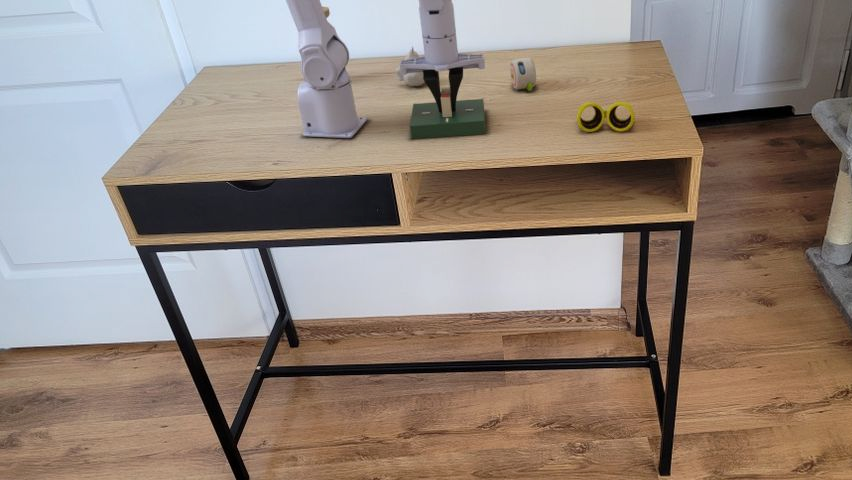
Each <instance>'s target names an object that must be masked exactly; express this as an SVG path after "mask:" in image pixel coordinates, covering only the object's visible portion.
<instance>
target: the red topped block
mask: <svg viewBox="0 0 852 480" xmlns="http://www.w3.org/2000/svg"><path fill="white" fill-rule="evenodd" d="M440 91H441V105H442V114H443V117H452V109H451V91H450V86H446V87H445V86H444V87H440Z"/></svg>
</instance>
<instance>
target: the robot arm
mask: <svg viewBox="0 0 852 480" xmlns="http://www.w3.org/2000/svg"><path fill="white" fill-rule="evenodd" d="M285 2H286V5H287V7H288V9H289V13H290V14H291V17H292V20H293V22H294V25H295V28H296V30H297V32H298V42H297V43H298V44H297V45H298V47H297V49H298V52H299V55H300V58H301V59H300V60H301V63H300V64H301V65H300V71H301V74H302V77H303V79H304V81H302V82H301V83H300V84H299V86H298V88H297V97H296V98H297V105H298V110H299V114H300V118H301V119H300V120H301V123H302V127H303V131H304V132H303V133H302V136H303V137H316V138H338V139H343V138H344V139H351V138H353V137H354V136H355V134H357V132H358V131H359V130H360V129H361V128H362V127H363V126H364V124H365V123H366V122H367V118H366V117H358V114H357V108H356V102H355V97H354V91H353V86H352V80H351V76H350V74H349V72H348V70H347V69H346V67H347V65H348V64H349V61H350V51H349V48H348V46H347V45H346V44H345V42H344V41H343V40H342V39H341V38H340V37H339V35H338V33H337V30H336V28H335V26H333V25H332V24H331V23H330V22H329V21H328V18H326V16H325V13H324V11H323V8H322V7H323V5H322V2H321V0H285ZM418 4H419V6H418V12H419V20H420V29H421V30H420V31H421V38H422V44H423V54H424V56H419V57H420V58H415V59H409V60H404V59H402V60H400V61H399V67H400V72H401V75H407V73H418V72H423V79H424V84H425V85H426V87H427V88H428V89H429V91H430V93H431V94H432V96H433V98H434V101H435V102H436V103H437V106H438V110H439V113H441V112H442V105H441V82H440V72H446V71H448V82H449V87H450V91H451V109H452V112H454V111H456V101H457V99H458V98H457V97H458V94H459V90H460V87H461V84H462V81H463V78H464V70H469V69H470V70H471V69H478V70H485V69H486V65H485V54H483V53H482V54H481V53H480V54H472V53H471V54H470V53H459V50H458V40H457V30H456V29H457V28H456V19H455V8H454V7H455V6H454V3H453V0H418Z"/></svg>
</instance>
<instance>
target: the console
mask: <svg viewBox="0 0 852 480" xmlns="http://www.w3.org/2000/svg"><path fill="white" fill-rule="evenodd" d="M409 123H410V124H409V129H410V136H411V140H417V139H418V140H419V139H432V138H433V139H435V138H446V137H459V136H473V135H485V134H486V115H485V101H484V98H477V99H463V100H456V111H454V112H452V117H443V114H442V112H441V113H439V110H438V106H437V103H436V101H435V102H422V103H421V102H420V103H413V104H412V111H411V117H410V122H409Z"/></svg>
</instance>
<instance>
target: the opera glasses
mask: <svg viewBox="0 0 852 480" xmlns="http://www.w3.org/2000/svg"><path fill="white" fill-rule="evenodd" d="M619 106H620V107H623V108H626V109H627V110H628V112H629V113H630V114H629V116H628V117H627V118H626V119H620V118H619V117H618V116H617V113H616V111H617V109H618V108H619ZM589 107H591V108H593V110H594V115H593V117H592V118H591V119H588V120H585V119H583V118H582V114H583V112H584V111H585V110H586V109H587V108H589ZM635 117H636V115H635V112H634V109H633V106H632V105H631V104H630V103H628V102H626V101H617V102H614V103H612V104H611V105H610V106H609V107H608V109H607V110H606V109H603V106H601V105H600V104H599V103H597V102H586V103H583V104H581V105H580V106H579V107H578V109H577V116H576V122H577V125H578V127H579V128H580V129H581V130H582V131H584V132H587V133H593V132H596V131H598V130H599V129H600V128H601V127H602V126H603V125H604V122H605V119H606V122H607V124H608V125H609V127H610V128H611V129H612V130H614V131H616V132H625V131H628V130H630V129H631V128H632V126H633V125H634V122H635Z"/></svg>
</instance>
